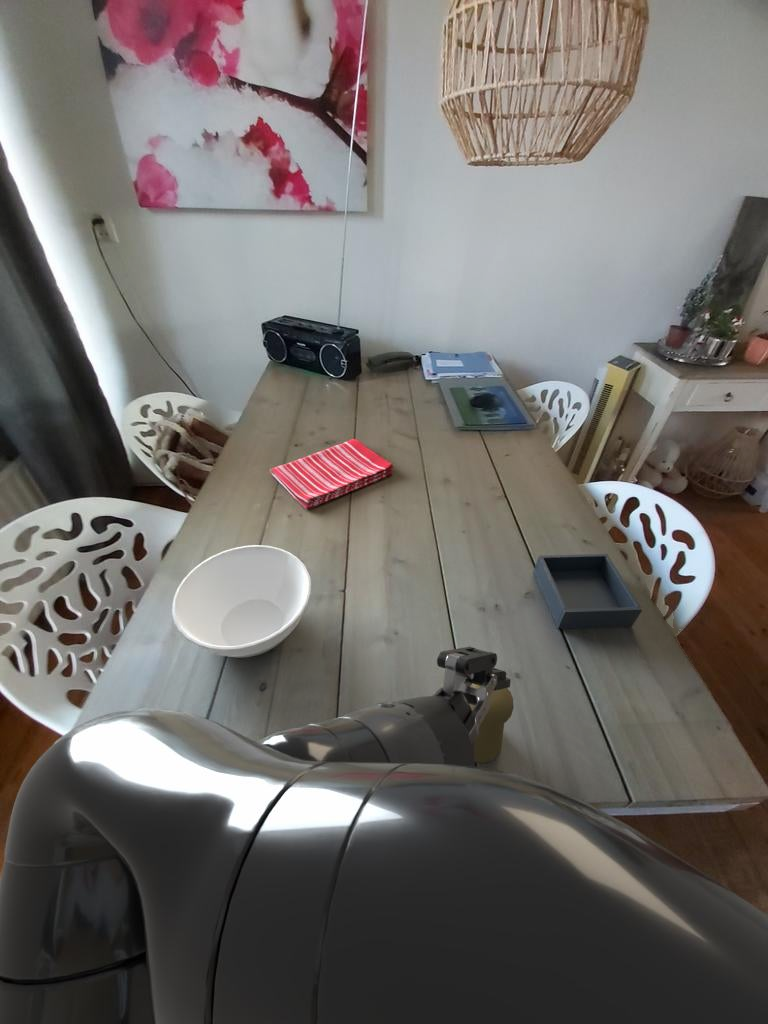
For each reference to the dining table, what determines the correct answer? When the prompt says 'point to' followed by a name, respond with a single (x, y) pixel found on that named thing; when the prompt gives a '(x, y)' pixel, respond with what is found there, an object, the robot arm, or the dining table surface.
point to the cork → (493, 725)
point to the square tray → (585, 591)
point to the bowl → (242, 600)
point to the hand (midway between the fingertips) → (494, 726)
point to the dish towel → (332, 473)
